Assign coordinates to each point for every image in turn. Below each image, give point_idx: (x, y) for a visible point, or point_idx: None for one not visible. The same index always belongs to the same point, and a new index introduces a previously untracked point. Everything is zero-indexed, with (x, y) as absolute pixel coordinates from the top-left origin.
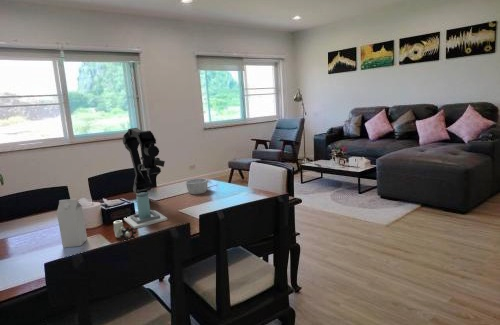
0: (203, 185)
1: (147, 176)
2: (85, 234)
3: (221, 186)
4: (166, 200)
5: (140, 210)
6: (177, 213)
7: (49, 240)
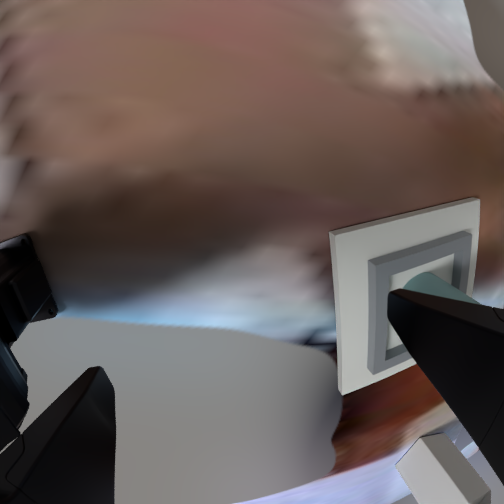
0: None
1: (74, 463)
2: (432, 447)
3: None
4: (61, 107)
5: None
6: (428, 117)
7: (349, 499)
